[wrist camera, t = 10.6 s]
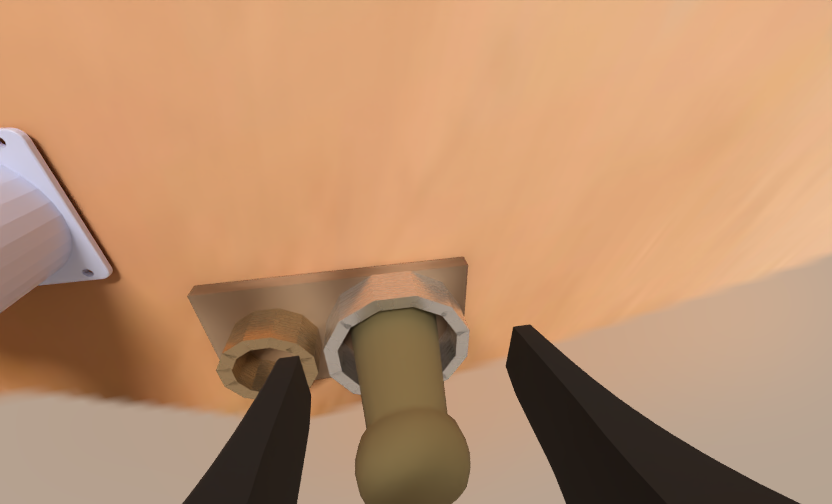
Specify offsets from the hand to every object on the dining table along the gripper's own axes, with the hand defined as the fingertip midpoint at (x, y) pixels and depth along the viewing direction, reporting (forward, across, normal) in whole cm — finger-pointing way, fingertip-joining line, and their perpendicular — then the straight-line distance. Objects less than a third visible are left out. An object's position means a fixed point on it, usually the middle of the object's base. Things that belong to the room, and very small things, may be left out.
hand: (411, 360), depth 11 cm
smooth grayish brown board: (+10, +3, +8) cm, 13 cm away
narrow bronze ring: (+9, +8, +8) cm, 14 cm away
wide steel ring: (+9, 0, +8) cm, 12 cm away
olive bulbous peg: (+10, 0, +7) cm, 12 cm away
